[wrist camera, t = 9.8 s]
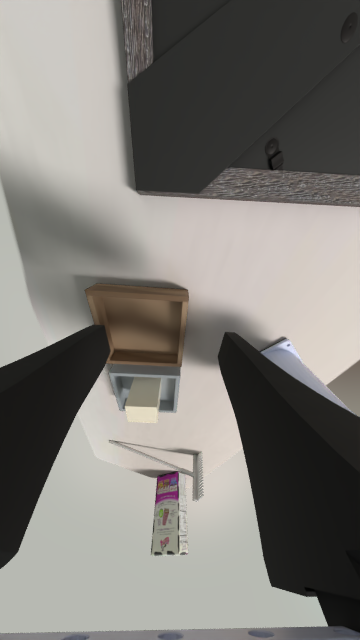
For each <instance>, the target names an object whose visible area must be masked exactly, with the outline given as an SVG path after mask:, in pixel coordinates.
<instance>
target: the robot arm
mask: <svg viewBox="0 0 360 640" xmlns="http://www.w3.org/2000/svg"><path fill="white" fill-rule="evenodd" d="M110 352H111V350H110V346H109V341H108V337H107V333H106V329H105V325H92V326H89V327H87V328H85V329H83V330H80V331H78V332H76V333H74V334H72V335H70V336H68V337H66V338H64V339H62V340H60V341H58V342H56V343H54V344H52V345H50V346H48V347H46V348H44V349H41V350H40V351H37V352H35V353H33V354H31V355H29V356H26V357H24V358H22V359H20V360H17V361H15V362H13V363H10V364H8V365H6V366H3V367H1V368H0V569H1V568H2V567H4V566H5V565H6V564H7V563H8V562H9V561H10V560H11V559H12V558H13V557H14V556H15V555H16V553H17V552H18V550H19V548H20V545H21V542H22V539H23V537H24V534H25V531H26V529H27V527H28V524H29V522H30V519H31V517H32V514H33V511H34V509H35V506H36V504H37V501H38V498H39V496H40V494H41V491H42V489H43V487H44V484H45V482H46V480H47V477H48V475H49V473H50V470H51V468H52V466H53V463H54V461H55V459H56V457H57V454H58V452H59V450H60V448H61V446H62V443H63V441H64V439H65V437H66V435H67V433H68V431H69V429H70V427H71V424H72V422H73V420H74V418H75V416H76V414H77V412H78V411H79V409H80V407H81V405H82V403H83V402H84V400H85V398H86V397H87V395H88V393H89V392H90V390H91V388H92V387H93V385H94V383H95V382H96V380H97V378H98V377H99V375H100V373H101V372H102V370H103V368H104V366H105V364H106V362H107V360H108V357H109V355H110ZM218 360H219V366H220V370H221V374H222V377H223V380H224V383H225V386H226V389H227V392H228V395H229V398H230V401H231V404H232V407H233V410H234V413H235V417H236V420H237V424H238V429H239V433H240V437H241V441H242V445H243V450H244V454H245V459H246V464H247V468H248V473H249V478H250V483H251V488H252V494H253V498H254V504H255V510H256V515H257V521H258V527H259V532H260V538H261V544H262V550H263V557H264V561H265V564H266V569H267V573H268V576H269V580H270V583H271V586H272V587H276V588H279V589H282V590H286V591H289V592H292V593H296V594H300V595H303V596H306V597H308V596H309V597H314V596H315V597H316V596H317V598H318V600H319V603H320V606H321V608H322V611H323V614H324V616H325V619H326V621H327V624H328V627H289V628H288V627H283V628H238V629H237V628H236V629H192V630H191V629H189V630H143V631H98V632H97V631H95V632H48V633H2V634H1V633H0V640H360V417H358V416H357V415H356V414H354V413H353V412H352V411H351V410H350V409H348V408H347V407H346V406H345V405H344V404H343V403H342V402H341V401H340V400H339V399H338V398H337V397H336V396H335V395H334V394H333V393H332V391H331V390H329V389H328V387H327V386H326V385H325V384H324V383H323V382H322V381H321V380H320V379H319V378H318V377H317V376H316V375H315V374H314V373H313V372H312V371H311V370H310V369H309V368H308V367H307V366H306V365H305V364H304V363H303V362H302V360H301V358H300V356H299V355H298V353H297V351H296V350H295V348H294V346H293V345H292V343H291V341H290V340H289V339H285V340H283V341H281V342H279V343H277V344H275V345H273V346H271V347H269V348H267V349H265V350H263V351H261V352H259V351H258V350H256V349H255V348H254V347H253V346H251V345H250V344H249V343H248V342H247V341H245V340H244V339H243V338H242V337H240V336H239V335H238V334H236V333H233V332H225V333H224V337H223V340H222V344H221V347H220V351H219V354H218Z"/></svg>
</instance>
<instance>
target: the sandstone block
mask: <svg viewBox="0 0 360 640" xmlns="http://www.w3.org/2000/svg"><path fill="white" fill-rule="evenodd" d="M160 397H161V378H154V377H134V380H133V383H132V386H131V389H130V392H129V395H128V398H127V401H126V404H125V410H126V414H127V418H128V422H148V423H157V421H158V413H159V405H160Z"/></svg>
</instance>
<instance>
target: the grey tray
mask: <svg viewBox="0 0 360 640" xmlns="http://www.w3.org/2000/svg"><path fill="white" fill-rule="evenodd" d="M109 376H110V379H111V383H112V386H113V389H114V393H115V396H116V400H117V403H118V407H119V410H120V411H126V410H125V404H126V401H127V398H128V395H129V392H130V389H131V386H132V383H133V380H134V377H154V378H161V397H160V405H159V412H171V413H176V411H177V402H178V393H179V384H180V367H172V366H151V365H130V364H113V366H112V368H111V370H110V371H109Z"/></svg>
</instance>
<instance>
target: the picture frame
mask: <svg viewBox="0 0 360 640" xmlns="http://www.w3.org/2000/svg"><path fill="white" fill-rule="evenodd" d="M121 5H122V17H123V28H124V40H125V52H126V63H127V75H128V97H129V109H130V121H131V133H132V145H133V157H134V170H135V182H136V190H137V191H138V193H139V194H140V195H151V196H169V197H187V198H205V199H224V200H242V201H260V202H278V203H297V204H315V205H333V206H351V207H360V0H121Z"/></svg>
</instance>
